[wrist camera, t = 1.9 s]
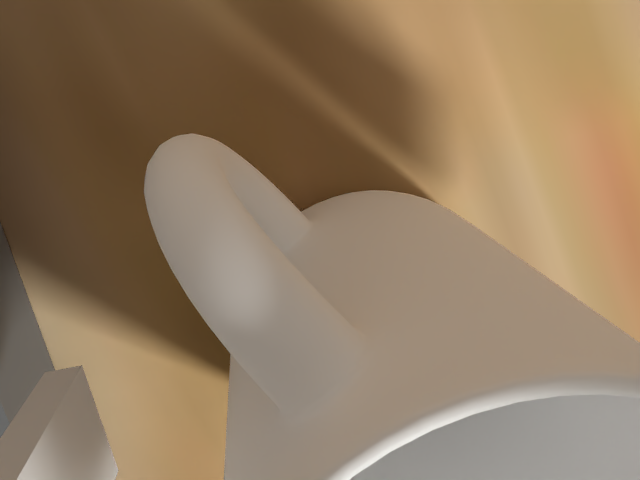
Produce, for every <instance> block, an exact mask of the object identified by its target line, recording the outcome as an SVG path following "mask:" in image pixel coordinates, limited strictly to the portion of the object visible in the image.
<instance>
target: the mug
mask: <svg viewBox="0 0 640 480" xmlns="http://www.w3.org/2000/svg"><path fill="white" fill-rule="evenodd" d="M144 195H145V200H146V206H147V211H148V214H149V217H150V221H151V224H152V227H153V230H154V232H155V235H156V238H157V241H158V243H159V246H160V248H161V250H162V252H163V254H164V256H165V258H166V260H167V262H168V264H169V266H170V268H171V270H172V272H173V273H174V275H175V277H176V278H177V280H178V282H179V283H180V285H181V286H182V288H183V290H184V291H185V293H186V295H187V296H188V298H189V299H190V301H191V302H192V304H193V305H194V306H195V308H196V309H197V311H198V312H199V313H200V315H201V316H202V318H203V319H204V321H205V322H206V323H207V325H208V326H209V327H210V329H211V330H212V331H213V332H214V334H215V335H216V336H217V337H218V339H219V340H220V341H221V343H222V344H223V345H224V346H225V348H226V349H227V350H228V351H229V353H230V373H229V392H228V411H227V430H226V449H225V468H224V480H640V343H639V342H638V341H636V340H635V339H634V338H632V337H631V336H629V335H628V334H626V333H625V332H624V331H622V330H621V329H619V328H618V327H617V326H615V325H614V324H612V323H611V322H610V321H608V320H607V319H605V318H604V317H602V316H601V315H600V314H598V313H597V312H595V311H594V310H593V309H591V308H590V307H588V306H587V305H586V304H584V303H583V302H581V301H580V300H578V299H577V298H576V297H574V296H573V295H571V294H570V293H569V292H567V291H566V290H564V289H563V288H562V287H560V286H559V285H557V284H556V283H554V282H553V281H552V280H550V279H549V278H547V277H546V276H545V275H543V274H542V273H540V272H539V271H537V270H536V269H535V268H533V267H532V266H530V265H529V264H528V263H526V262H525V261H523V260H522V259H521V258H519V257H518V256H516V255H515V254H513V253H512V252H511V251H509V250H508V249H506V248H505V247H504V246H502V245H501V244H499V243H498V242H497V241H495V240H494V239H492V238H491V237H489V236H488V235H487V234H485V233H484V232H482V231H481V230H480V229H478V228H477V227H475V226H474V225H472V224H471V223H469V222H468V221H466V220H465V219H463V218H462V217H460V216H459V215H457V214H456V213H454V212H453V211H451V210H449V209H447V208H445V207H443V206H441V205H439V204H437V203H435V202H432V201H430V200H428V199H425V198H422V197H418V196H415V195H412V194H407V193H401V192H395V191H385V190H368V191H359V192H351V193H347V194H343V195H339V196H335V197H332V198H330V199H327V200H324V201H322V202H319V203H317V204H315V205H313V206H311V207H309V208H307V209H305V210H303V211H300V210H299V209H298V208H297V207H296V206H295V205H294V204H293V203H292V202H291V201H290V200H289V199H288V198H287V197H286V196H285V195H284V194H283V193H282V192H281V191H280V190H279V189H278V188H277V187H276V186H275V185H274V184H273V183H271V182H270V181H269V180H268V179H267V178H266V177H265V176H264V175H263V174H262V173H261V172H259V171H258V170H257V169H256V168H255V167H254V166H252V165H251V164H250V163H249V162H248V161H246V160H245V159H244V158H242V157H241V156H240V155H238V154H237V153H236V152H234V151H233V150H232V149H230V148H229V147H227V146H226V145H224V144H223V143H221V142H219V141H217V140H215V139H213V138H210V137H206V136H202V135H198V134H193V133H191V134H184V135H178V136H175V137H172V138H171V139H169V140H167V141H166V142H164V143H162V144H161V145H160V146H159V147H158V148H157V150H156V151H155V153H154V154H153V156H152V157H151V159H150V161H149V162H148V164H147V169H146V175H145V183H144Z"/></svg>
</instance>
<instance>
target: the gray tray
mask: <svg viewBox="0 0 640 480" xmlns="http://www.w3.org/2000/svg"><path fill="white" fill-rule="evenodd" d="M50 371H55V369H54V366H53V364H52V361H51V358H50V356H49V353H48V350H47V347H46V345H45V342H44V339H43V337H42V334H41V331H40V329H39V326H38V323H37V320H36V318H35V315H34V312H33V310H32V307H31V304H30V301H29V299H28V296H27V293H26V291H25V288H24V285H23V282H22V280H21V277H20V274H19V272H18V269H17V266H16V264H15V261H14V258H13V255H12V253H11V250H10V247H9V245H8V242H7V239H6V236H5V234H4V231H3V228H2V226H1V223H0V438H1V436H2V435H3V433H4V432H5V430H6V429H7V427H8V426H9V424H10V423H11V422H12V420H13V419H14V417H15V416H16V414H17V413H18V411H19V410H20V408H21V407H22V405H23V404H24V402H25V401H26V399H27V398H28V396H29V395H30V394H31V392H32V391H33V389H34V388H35V386H36V385H37V383H38V382H39V380H40V379H41V377H42V376H43V374H44V373H45V372H50Z"/></svg>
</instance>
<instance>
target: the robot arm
mask: <svg viewBox="0 0 640 480" xmlns="http://www.w3.org/2000/svg"><path fill="white" fill-rule="evenodd" d="M117 473H118V468H117V465H116V462H115V459H114V456H113V453H112V450H111V448H110V445H109V442H108V439H107V436H106V433H105V430H104V427H103V425H102V422H101V419H100V416H99V413H98V410H97V407H96V405H95V402H94V399H93V396H92V393H91V390H90V387H89V384H88V382H87V379H86V376H85V373H84V370H83V367H82V365H81V366H76V367H71V368H66V369H61V370H56V371H50V372H45V373H44V374H43V376H42V377H41V379H40V380H39V382H38V383H37V385H36V386H35V388H34V389H33V391H32V392H31V394H30V395H29V396H28V398H27V399H26V401H25V402H24V404H23V405H22V407H21V408H20V410H19V411H18V413H17V414H16V416H15V417H14V419H13V420H12V422H11V423H10V424H9V426H8V427H7V429H6V430H5V432H4V433H3V435H2V436H1V438H0V480H115V479H116V476H117Z"/></svg>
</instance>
